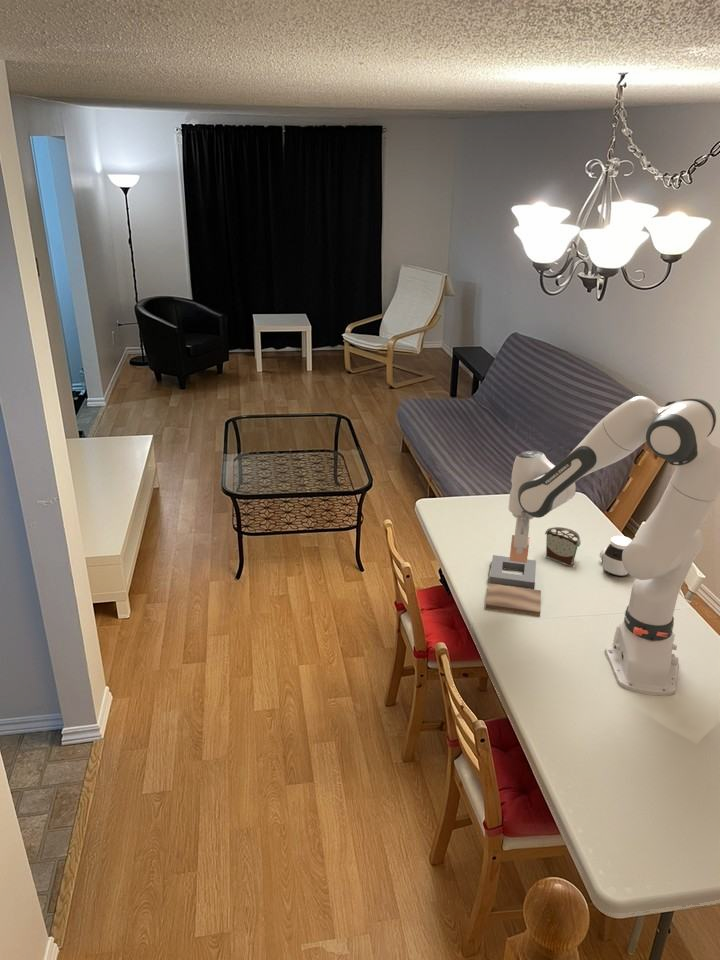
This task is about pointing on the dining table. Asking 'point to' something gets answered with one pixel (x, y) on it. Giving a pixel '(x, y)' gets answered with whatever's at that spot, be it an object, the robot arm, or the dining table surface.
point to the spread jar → (615, 556)
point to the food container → (562, 544)
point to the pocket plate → (512, 579)
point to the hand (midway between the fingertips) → (519, 547)
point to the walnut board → (513, 599)
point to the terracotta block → (517, 556)
